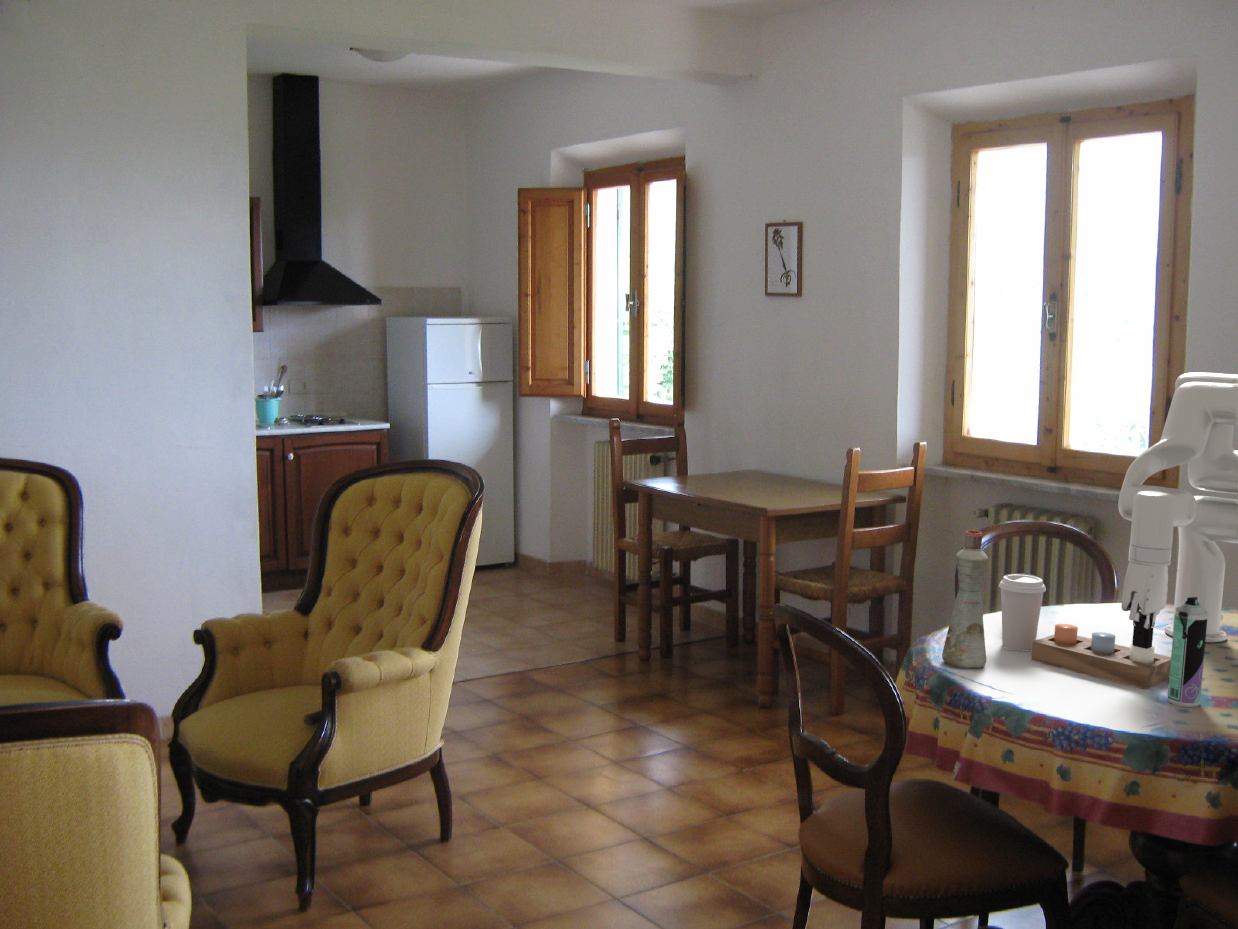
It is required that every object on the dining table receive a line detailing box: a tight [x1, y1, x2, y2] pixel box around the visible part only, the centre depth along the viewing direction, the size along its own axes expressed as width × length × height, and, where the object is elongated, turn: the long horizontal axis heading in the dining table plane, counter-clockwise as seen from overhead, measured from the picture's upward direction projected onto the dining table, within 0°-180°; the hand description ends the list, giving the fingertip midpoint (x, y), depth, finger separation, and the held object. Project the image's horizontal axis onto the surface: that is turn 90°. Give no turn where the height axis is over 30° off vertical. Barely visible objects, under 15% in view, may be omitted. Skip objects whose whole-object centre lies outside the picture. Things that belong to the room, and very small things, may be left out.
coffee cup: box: [998, 573, 1047, 652], centre depth 259 cm, size 10×10×15 cm
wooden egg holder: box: [1030, 634, 1171, 690], centre depth 245 cm, size 12×24×4 cm, turn 42°
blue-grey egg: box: [1091, 631, 1116, 655], centre depth 245 cm, size 4×4×5 cm
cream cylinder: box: [1129, 643, 1156, 664], centre depth 239 cm, size 4×4×5 cm
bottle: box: [941, 529, 989, 669], centre depth 244 cm, size 9×9×28 cm
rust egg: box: [1053, 623, 1079, 646], centre depth 251 cm, size 4×4×5 cm
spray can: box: [1167, 597, 1208, 708], centre depth 224 cm, size 6×6×20 cm
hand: (1141, 646), depth 239 cm, fingers closed
